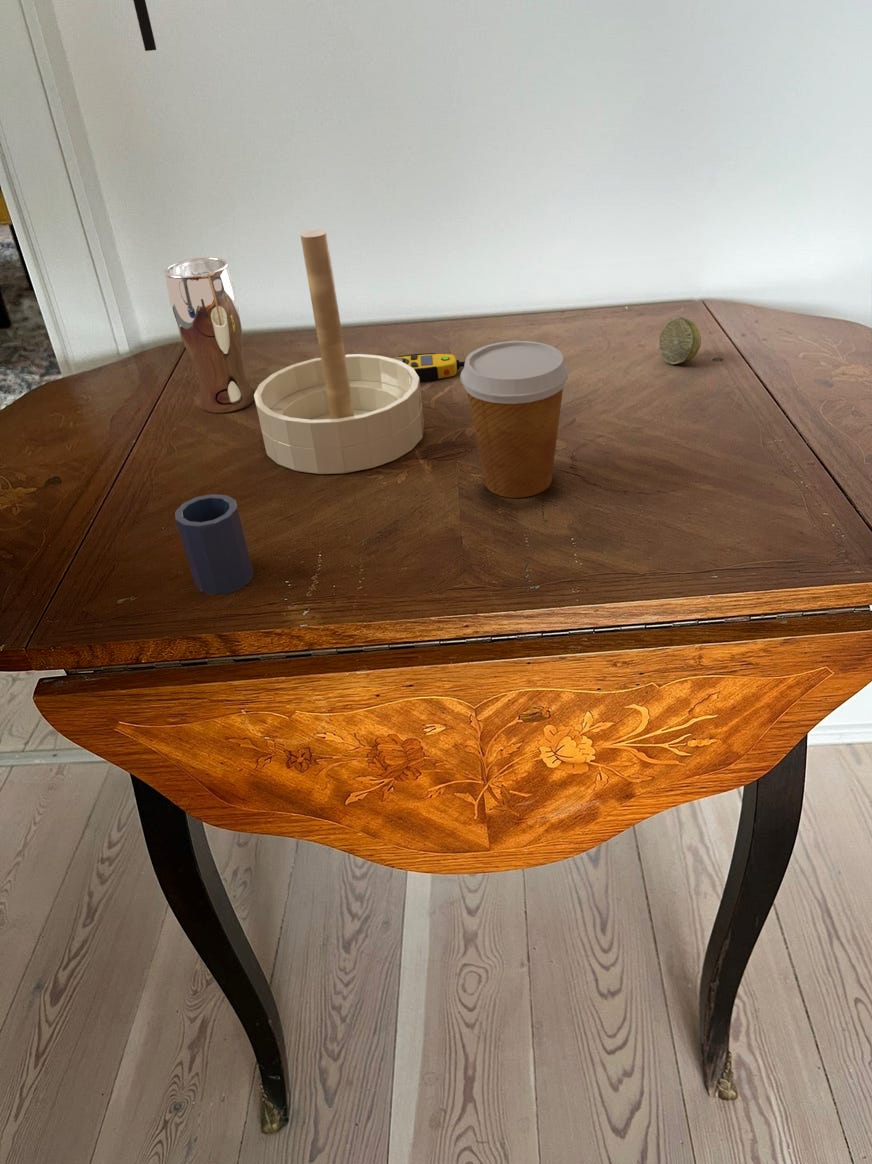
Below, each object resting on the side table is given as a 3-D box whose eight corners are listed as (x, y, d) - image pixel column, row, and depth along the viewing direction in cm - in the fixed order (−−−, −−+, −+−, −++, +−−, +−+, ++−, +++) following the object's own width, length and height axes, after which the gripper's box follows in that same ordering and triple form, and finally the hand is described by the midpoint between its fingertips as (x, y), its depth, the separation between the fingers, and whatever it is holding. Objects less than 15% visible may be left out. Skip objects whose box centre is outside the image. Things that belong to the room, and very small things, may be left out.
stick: (336, 442, 97) (302, 238, 85) (332, 432, 99) (298, 231, 87) (359, 438, 98) (328, 234, 85) (354, 428, 100) (324, 228, 87)
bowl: (275, 492, 91) (263, 434, 87) (258, 422, 104) (247, 369, 100) (441, 461, 94) (436, 404, 90) (405, 396, 107) (399, 344, 103)
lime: (696, 370, 108) (700, 326, 105) (654, 367, 109) (656, 324, 106) (702, 355, 111) (705, 312, 108) (660, 352, 112) (663, 310, 109)
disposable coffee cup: (543, 449, 95) (541, 331, 87) (585, 492, 88) (587, 368, 80) (453, 470, 92) (444, 351, 85) (490, 516, 85) (482, 390, 78)
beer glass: (240, 383, 112) (210, 252, 103) (269, 401, 108) (241, 265, 98) (186, 402, 109) (150, 268, 99) (214, 420, 104) (179, 282, 95)
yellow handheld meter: (378, 353, 112) (505, 343, 112) (380, 369, 113) (506, 358, 113) (378, 370, 108) (509, 358, 108) (380, 386, 109) (509, 375, 110)
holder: (198, 603, 77) (176, 530, 73) (195, 572, 81) (174, 500, 76) (257, 591, 78) (239, 518, 74) (251, 561, 82) (234, 489, 77)
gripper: (150, -380, 57) (228, 35, 70) (-311, -372, 53) (-135, 70, 66) (152, -412, 52) (236, 46, 65) (-365, -407, 47) (-161, 85, 60)
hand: (49, 59), depth 65 cm, fingers open, 13 cm apart
